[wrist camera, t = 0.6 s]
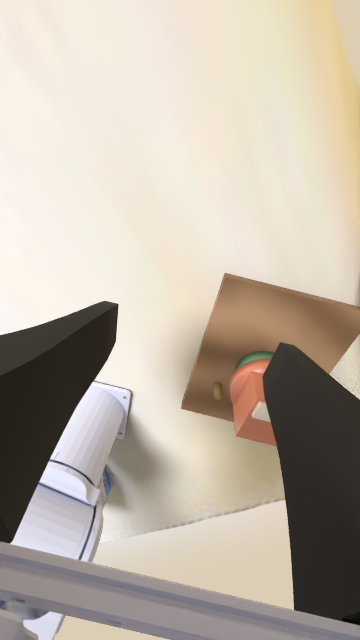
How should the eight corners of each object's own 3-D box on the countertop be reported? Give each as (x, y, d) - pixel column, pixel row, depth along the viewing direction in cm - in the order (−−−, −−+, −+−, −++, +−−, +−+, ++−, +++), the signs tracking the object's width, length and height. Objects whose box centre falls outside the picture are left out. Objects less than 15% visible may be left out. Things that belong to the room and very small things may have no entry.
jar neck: (273, 392, 23) (277, 405, 22) (229, 381, 23) (230, 393, 22) (294, 357, 21) (300, 369, 20) (245, 345, 21) (247, 356, 20)
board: (281, 426, 27) (287, 446, 25) (182, 401, 27) (179, 420, 25) (366, 308, 19) (386, 324, 17) (224, 272, 19) (226, 283, 17)
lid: (282, 415, 22) (296, 461, 18) (220, 399, 22) (222, 443, 18) (314, 368, 19) (339, 413, 15) (243, 351, 19) (250, 391, 15)
